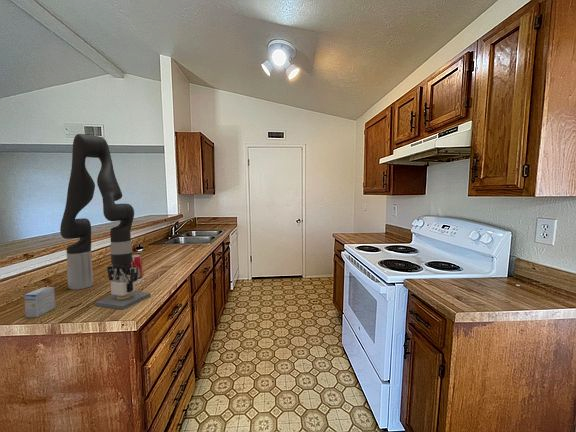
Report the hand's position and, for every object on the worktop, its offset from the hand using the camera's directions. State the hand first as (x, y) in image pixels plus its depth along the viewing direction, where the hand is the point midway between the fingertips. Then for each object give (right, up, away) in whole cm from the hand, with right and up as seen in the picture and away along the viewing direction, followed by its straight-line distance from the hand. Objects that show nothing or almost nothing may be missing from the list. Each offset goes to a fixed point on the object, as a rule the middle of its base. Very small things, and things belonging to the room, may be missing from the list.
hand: (123, 290), depth 109 cm
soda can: (-13, -2, +31) cm, 34 cm away
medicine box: (-25, -6, -10) cm, 27 cm away
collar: (0, -1, 0) cm, 1 cm away
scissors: (-9, -4, +17) cm, 20 cm away
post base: (0, -4, 0) cm, 4 cm away
